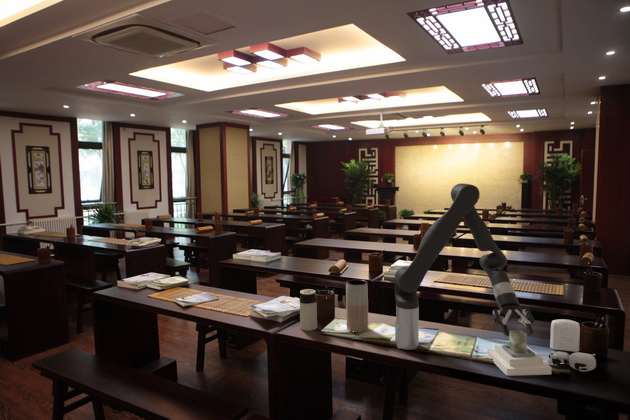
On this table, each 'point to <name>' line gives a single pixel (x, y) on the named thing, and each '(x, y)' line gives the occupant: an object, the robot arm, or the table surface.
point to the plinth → (519, 368)
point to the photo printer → (565, 335)
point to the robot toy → (574, 360)
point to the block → (518, 341)
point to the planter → (357, 305)
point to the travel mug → (308, 310)
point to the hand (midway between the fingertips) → (519, 335)
